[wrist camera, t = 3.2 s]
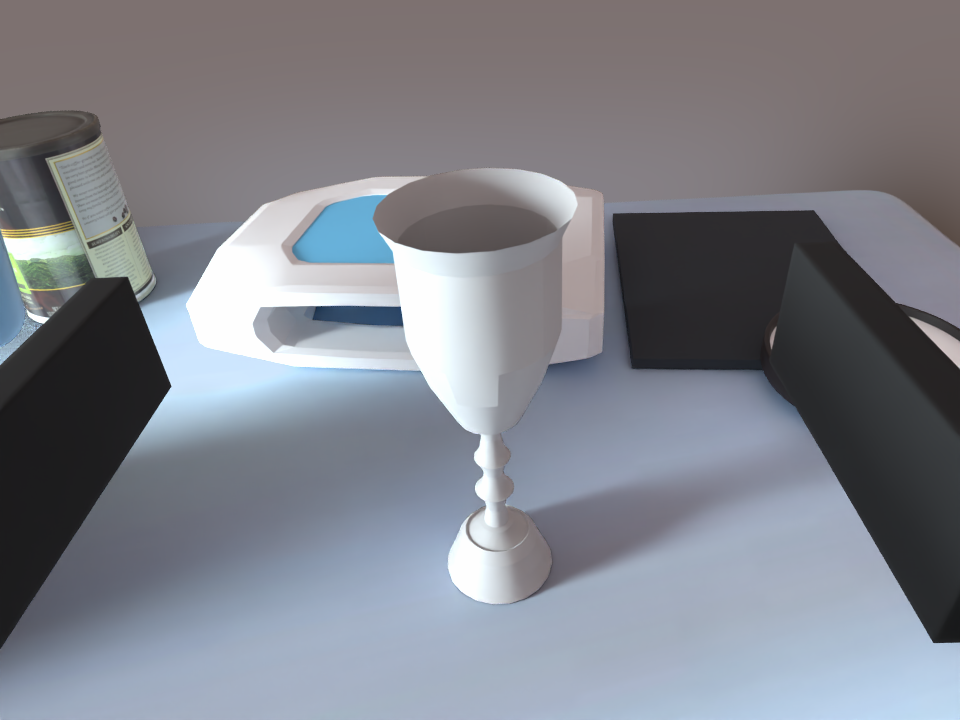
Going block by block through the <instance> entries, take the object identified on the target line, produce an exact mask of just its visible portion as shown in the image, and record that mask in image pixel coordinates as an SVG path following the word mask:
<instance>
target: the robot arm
mask: <svg viewBox="0 0 960 720" xmlns="http://www.w3.org/2000/svg"><path fill="white" fill-rule="evenodd" d="M24 319H25V308H24V304H23V300H22V296H21V292H20V289H19V286H18V282H17V279H16V276H15V273H14V270H13V266H12V263H11V260H10V257H9V254H8V251H7V248H6V245H5V242H4V239H3V236H2V233H1V229H0V347H2V346H3V345H5V344H7V343H9V342H10V341H11V340H13V339H14V338H15V337H16V336H17V334H18V333H19V332H20V330H21V328H22V326H23V324H24ZM769 362H770V364H771V366H772V367H773V369H774V371H775V373H776V374H777V376H778V378H779V379H780V381H781V383H782V384H783V386H784V388H785V390H786V391H787V393H788V395H789V396H790V398H791V400H792V402H793V403H794V405H795V407H796V408H797V410H798V412H799V414H800V415H801V417H802V419H803V420H804V422H805V424H806V426H807V427H808V429H809V431H810V432H811V434H812V436H813V438H814V439H815V441H816V443H817V444H818V446H819V448H820V450H821V451H822V453H823V455H824V456H825V458H826V460H827V462H828V463H829V465H830V467H831V468H832V470H833V472H834V473H835V475H836V477H837V479H838V480H839V482H840V484H841V485H842V487H843V489H844V491H845V492H846V494H847V496H848V497H849V499H850V501H851V503H852V504H853V506H854V508H855V509H856V511H857V513H858V515H859V516H860V518H861V520H862V521H863V523H864V525H865V527H866V528H867V530H868V532H869V533H870V535H871V537H872V539H873V540H874V542H875V544H876V545H877V547H878V549H879V551H880V552H881V554H882V556H883V557H884V559H885V561H886V563H887V564H888V566H889V568H890V569H891V571H892V573H893V574H894V576H895V578H896V580H897V581H898V583H899V585H900V586H901V588H902V590H903V592H904V593H905V595H906V597H907V598H908V600H909V602H910V604H911V605H912V607H913V609H914V610H915V612H916V614H917V616H918V617H919V619H920V621H921V622H922V624H923V626H924V628H925V629H926V631H927V633H928V634H929V636H930V638H931V640H932V641H933V643H958V642H960V368H959V367H958V366H957V365H956V364H955V363H954V362H953V361H952V360H951V359H950V358H949V357H948V356H947V355H946V354H945V353H944V352H943V351H942V350H941V349H940V348H939V347H938V346H937V345H936V344H935V343H934V342H933V341H932V340H931V339H930V338H929V337H928V336H927V335H926V334H925V333H924V332H923V330H922V329H921V328H920V327H919V326H918V325H917V324H916V323H915V322H914V321H913V320H912V319H911V318H910V317H909V316H908V315H907V314H906V313H905V312H904V311H903V310H902V309H901V308H900V307H899V306H898V305H897V304H896V303H895V302H894V301H893V300H892V299H891V298H890V297H889V296H888V295H887V294H886V293H885V291H884V290H883V289H882V288H881V287H880V286H879V285H878V284H877V283H876V282H875V281H874V280H873V279H872V278H871V277H870V276H869V275H868V274H867V273H866V272H865V271H864V270H863V269H862V268H861V267H860V266H859V265H858V264H857V263H856V262H855V261H854V260H853V259H852V258H851V257H850V256H849V255H848V254H847V252H846V251H845V250H844V249H843V248H842V247H841V246H840V245H839V244H838V243H837V242H836V241H828V242H808V243H794V248H793V252H792V257H791V262H790V266H789V271H788V276H787V280H786V285H785V290H784V294H783V299H782V304H781V308H780V313H779V318H778V322H777V327H776V332H775V336H774V341H773V346H772V350H771V355H770V360H769ZM170 388H171V384H170V382H169V379H168V377H167V374H166V371H165V369H164V366H163V364H162V361H161V359H160V356H159V354H158V351H157V349H156V346H155V344H154V341H153V339H152V336H151V334H150V331H149V329H148V326H147V324H146V321H145V319H144V316H143V314H142V311H141V309H140V306H139V304H138V301H137V299H136V296H135V294H134V291H133V288H132V286H131V283H130V281H129V278H128V276H127V277H107V278H91V279H90V280H89V281H87V282H86V283H85V284H84V285H83V286H82V287H81V288H80V289H79V290H78V291H77V292H76V293H75V294H74V295H73V296H72V297H71V298H70V299H69V300H68V301H67V302H66V303H65V304H64V305H62V306H61V307H60V308H59V309H58V310H57V311H56V312H55V313H54V314H53V315H52V316H51V317H50V318H49V319H48V320H47V321H46V322H45V323H44V324H43V325H42V326H41V327H40V328H39V329H38V330H36V331H35V332H34V333H33V334H32V335H31V336H30V337H29V338H28V339H27V340H26V341H25V342H24V343H23V344H22V345H21V346H20V347H19V348H18V349H17V350H16V351H15V352H14V353H13V354H11V355H10V356H9V357H8V358H7V359H6V360H5V361H4V362H3V363H2V364H1V365H0V649H1V647H2V646H3V644H4V643H5V641H6V640H7V638H8V637H9V635H10V634H11V632H12V630H13V629H14V627H15V626H16V624H17V623H18V621H19V620H20V618H21V617H22V615H23V614H24V612H25V610H26V609H27V607H28V606H29V604H30V603H31V601H32V600H33V598H34V597H35V595H36V594H37V592H38V591H39V589H40V587H41V586H42V584H43V583H44V581H45V580H46V578H47V577H48V575H49V574H50V572H51V571H52V569H53V567H54V566H55V564H56V563H57V561H58V560H59V558H60V557H61V555H62V554H63V552H64V551H65V549H66V548H67V546H68V544H69V543H70V541H71V540H72V538H73V537H74V535H75V534H76V532H77V531H78V529H79V528H80V526H81V524H82V523H83V521H84V520H85V518H86V517H87V515H88V514H89V512H90V511H91V509H92V508H93V506H94V505H95V503H96V501H97V500H98V498H99V497H100V495H101V494H102V492H103V491H104V489H105V488H106V486H107V485H108V483H109V481H110V480H111V478H112V477H113V475H114V474H115V472H116V471H117V469H118V468H119V466H120V465H121V463H122V462H123V460H124V458H125V457H126V455H127V454H128V452H129V451H130V449H131V448H132V446H133V445H134V443H135V442H136V440H137V438H138V437H139V435H140V434H141V432H142V431H143V429H144V428H145V426H146V425H147V423H148V422H149V420H150V419H151V417H152V415H153V414H154V412H155V411H156V409H157V408H158V406H159V405H160V403H161V402H162V400H163V399H164V397H165V395H166V394H167V392H168V391H169V389H170Z"/></svg>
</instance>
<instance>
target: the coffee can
mask: <svg viewBox="0 0 960 720" xmlns="http://www.w3.org/2000/svg"><path fill="white" fill-rule="evenodd" d="M0 229H1V233H2V236H3V239H4V242H5V245H6V248H7V251H8V254H9V257H10V260H11V263H12V266H13V270H14V273H15V276H16V279H17V282H18V286H19V289H20V292H21V296H22V300H23V302H24V304H25V306H26V309H27V314H28V316H29V317H30V318H32V319H33V320H34V321H36V322H39V323H42V324H44V323H45V322H46V321H47V320H48V319H49V318H50V317H51V316H52V315H53V314H54V313H55V312H56V311H57V310H58V309H59V308H60V307H61V306H62V305H64V304H65V303H66V302H67V301H68V300H69V299H70V298H71V297H72V296H73V295H74V294H75V293H76V292H77V291H78V290H79V289H80V288H81V287H82V286H83V285H84V284H85V283H86V282H87V281H89V280H90V279H91V278H107V277H127V276H128V278H129V281H130V283H131V286H132V288H133V291H134V294H135V296H136V299H137V301H138V302H140V301H141V300H142V299H144V298H145V297H146V296H147V295H148V294H149V293H151V291H152V290H153V288H154V287H155V284H156V277H155V275H154V273H153V272H152V269H151V267H150V264H149V261H148V258H147V256H146V253H145V250H144V248H143V245H142V242H141V240H140V237H139V234H138V231H137V229H136V226H135V223H134V221H133V218H132V215H131V212H130V210H129V207H128V204H127V201H126V199H125V196H124V193H123V191H122V188H121V185H120V182H119V180H118V177H117V175H116V172H115V169H114V166H113V163H112V160H111V158H110V155H109V153H108V150H107V147H106V144H105V142H104V139H103V136H102V133H101V131H100V122H99V119H98V117H97V116H96V115H95V114H92V113H88V112H83V111H48V112H39V113H31V114H25V115H19V116H14V117H8V118H5V119H0Z"/></svg>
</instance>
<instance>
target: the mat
mask: <svg viewBox="0 0 960 720" xmlns="http://www.w3.org/2000/svg"><path fill="white" fill-rule="evenodd" d="M613 227H614V235H615V242H616V250H617V257H618V265H619V272H620V280H621V287H622V295H623V302H624V310H625V317H626V325H627V332H628V340H629V347H630V355H631V362H632V368H659V369H750V370H763V369H762V366H761V360H760V354H761V346H762V342H763V337H764V333H765V330H766V328H767V325H768V324H769V322H770V321H771V319H772V318H773V317H774V316H775V315H776V314H778V313H779V312H780V308H781V304H782V299H783V294H784V290H785V285H786V280H787V276H788V271H789V266H790V262H791V257H792V252H793V248H794V243H808V242H828V241H836V242H837V240H836V239H835V238H834V236H833V235H832V234H831V232H830V231H829V230H828V228H827V227H826V226H825V224H824V223H823V222H822V220H821V219H820V218H819V216H818V215H817V214H816V212H815V211H814V210H810V211H747V212H684V213H621V214H613ZM837 243H838V242H837ZM838 244H839V243H838ZM839 245H840V244H839Z"/></svg>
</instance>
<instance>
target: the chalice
mask: <svg viewBox="0 0 960 720" xmlns="http://www.w3.org/2000/svg"><path fill="white" fill-rule="evenodd" d="M577 205H578V204H577V200H576V197H575V194H574V192H573V191H572V190H571V189H570V188H568V187H567V186H566V185H565V184H564V183H562V182H561V181H558V180H556V179H553V178H551V177H549V176H546V175H544V174H540V173H535V172H530V171H524V170H519V169H505V168H479V169H465V170H457V171H452V172H446V173H441V174H436V175H432V176H428V177H425V178H422V179H419V180H416V181H413V182H410V183H408V184H406V185H404V186H402V187H400V188H399V189H397V190H395V191H393V192H391V193H389V194H388V195H387V196H386V197H385V198H384V199H383V200H382V201H381V202H380V203H379V204H378V205H377V206H376V209H375V212H374V216H373V221H374V223H375V225H376V228H377V230H378V232H379V233H380V235H381V236H382V237H383V239H384V240H385V242H386V243H387V244H388V246H389V247H390V249H391V250H392V251H393V256H394V263H395V270H396V277H397V284H398V290H399V297H400V304H401V311H402V318H403V324H404V331H405V338H406V342H407V344H408V347H409V349H410V352H411V354H412V356H413V358H414V359H415V361H416V363H417V365H418V367H419V368H420V370H421V372H422V374H423V375H424V377H425V379H426V381H427V383H428V384H429V386H430V388H431V389H432V390H433V392H434V393H435V394H436V395H437V397H438V398H439V399H440V400H441V402H442V403H443V404H444V405H445V407H446V408H447V409H448V410H449V412H450V413H451V414H452V415H453V417H454V418H455V419H456V420H457V422H458V423H459V424H460V425H461V426H462V427H463V428H464V429H465V430H468V431H470V432H472V433H474V434H481V439H480V445H479V448H478V449H477V450H476V452H475V454H474V460H475V462H476V463H477V464H478V465H479V466H480V467H481V468H482V470H483V472H484V473H483V477H481V478H480V479H479V480H478V481H477V483H476V485H475V491H476V494H477V495H478V496H479V497H480V498H481V499H482V500H484V501H485V503H486V506H484V507H481V508H480V509H478V510H476V511H475V512H473V513H472V514H470V515H469V516H468V517H467V519H466V520H465V521H464V522H463V523H462V526H461V528H460V530H459V532H458V534H457V537H456V539H455V541H454V543H453V545H452V547H451V550H450V552H449V554H448V570H449V573H450V576H451V579H452V581H453V583H454V584H455V585H456V586H457V587H458V588H459V589H460V590H461V592H462V593H464V594H466V595H467V596H469V597H471V598H473V599H474V600H476V601H480V602H485V603H489V604H509V603H513V602H516V601H519V600H522V599H525V598H527V597H529V596H530V595H531V594H533V593H534V592H536V591H537V590H538V589H540V587H541V586H542V585H543V583H544V582H545V580H546V579H547V578H548V576H549V573H550V569H551V565H552V558H551V550H550V548H549V546H548V544H547V542H546V540H545V539H544V537H543V536H542V535H541V534H540V532H539V530H538V528H537V527H536V526H535V524H534V522H533V520H532V519H531V518H530V517H529V516H528V515H527V514H526V513H525V512H523V511H521V510H519V509H517V508H515V507H513V506H510V505H505V503H506V499H507V498H508V497H510V495H511V494H512V493H513V490H514V483H513V481H512V479H511V478H509V477H508V476H507V475H505V474H504V472H503V470H504V467H505V465H506V464H507V463H508V461H509V460H510V457H511V453H510V451H509V449H508V448H507V447H506V446H505V445H504V442H503V439H502V436H501V433H502V432H505V431H507V430H509V429H511V428H512V427H514V426H515V425H516V424H517V423H518V422H519V421H520V419H521V417H522V416H523V414H524V412H525V410H526V409H527V407H528V405H529V404H530V402H531V400H532V398H533V397H534V395H535V393H536V392H537V390H538V388H539V386H540V385H541V383H542V381H543V379H544V376H545V373H546V371H547V368H548V366H549V363H550V360H551V358H552V355H553V352H554V350H555V347H556V345H557V342H558V339H559V336H560V333H561V330H562V237H563V235H564V233H565V231H566V229H567V227H568V225H569V223H570V221H571V219H572V217H573V215H574V212H575V210H576V208H577Z"/></svg>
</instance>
